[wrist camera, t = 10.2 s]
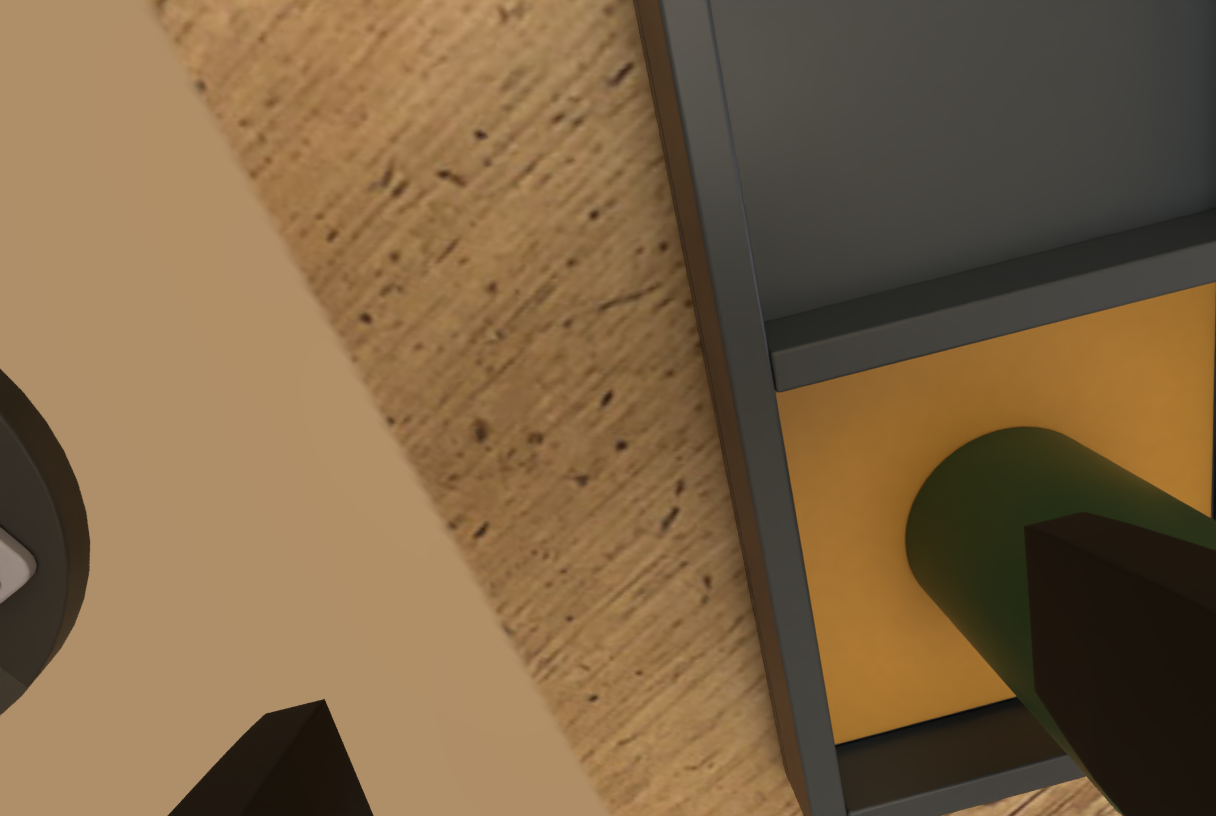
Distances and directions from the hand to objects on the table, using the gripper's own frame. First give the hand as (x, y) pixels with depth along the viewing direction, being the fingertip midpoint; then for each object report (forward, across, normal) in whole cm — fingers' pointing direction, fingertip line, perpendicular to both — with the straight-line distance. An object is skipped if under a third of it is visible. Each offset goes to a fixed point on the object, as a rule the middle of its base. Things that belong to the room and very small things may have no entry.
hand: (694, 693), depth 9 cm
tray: (+10, -8, 0) cm, 12 cm away
